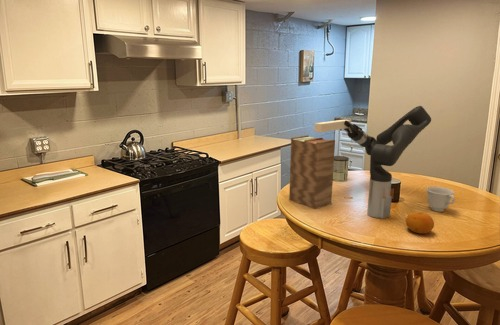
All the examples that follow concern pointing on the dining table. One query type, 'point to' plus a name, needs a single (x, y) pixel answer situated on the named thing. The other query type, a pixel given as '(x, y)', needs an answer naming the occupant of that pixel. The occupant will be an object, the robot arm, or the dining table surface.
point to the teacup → (439, 198)
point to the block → (330, 125)
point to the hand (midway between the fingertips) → (341, 121)
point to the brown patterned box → (311, 171)
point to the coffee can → (340, 168)
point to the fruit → (419, 222)
